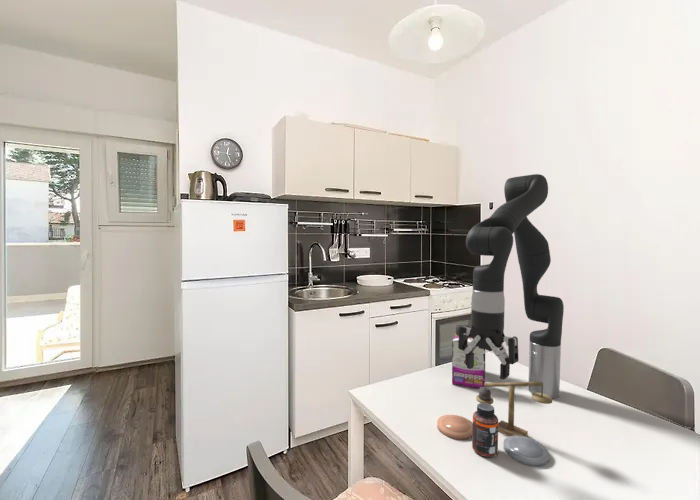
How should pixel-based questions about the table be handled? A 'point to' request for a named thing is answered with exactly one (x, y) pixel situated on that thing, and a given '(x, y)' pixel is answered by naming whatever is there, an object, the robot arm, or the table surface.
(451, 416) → the terracotta dish
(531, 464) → the slate dish
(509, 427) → the balance
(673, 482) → the table surface
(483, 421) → the supplement bottle
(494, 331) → the robot arm
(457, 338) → the candy bar box
